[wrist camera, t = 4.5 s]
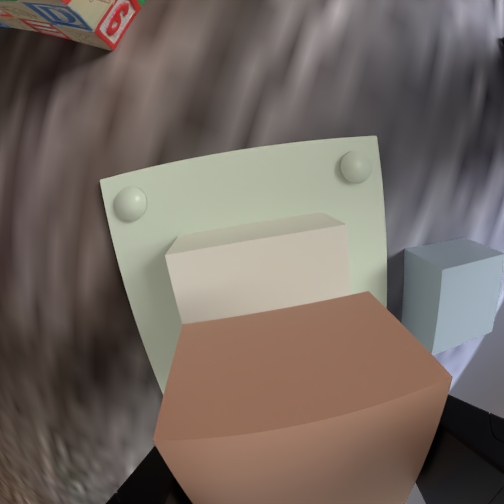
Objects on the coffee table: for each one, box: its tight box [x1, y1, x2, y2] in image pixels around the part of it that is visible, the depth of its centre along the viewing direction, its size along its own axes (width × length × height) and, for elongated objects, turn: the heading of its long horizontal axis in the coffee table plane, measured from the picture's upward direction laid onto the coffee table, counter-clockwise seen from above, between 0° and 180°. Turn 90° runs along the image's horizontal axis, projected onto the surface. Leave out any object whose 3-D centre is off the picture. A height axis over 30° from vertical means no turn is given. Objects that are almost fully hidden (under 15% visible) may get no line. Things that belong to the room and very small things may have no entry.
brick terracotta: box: [153, 291, 452, 504], centre depth 7 cm, size 5×5×4 cm
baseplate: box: [100, 136, 387, 396], centre depth 16 cm, size 14×14×1 cm
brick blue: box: [401, 238, 504, 355], centre depth 16 cm, size 5×5×4 cm
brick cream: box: [165, 212, 351, 324], centre depth 14 cm, size 7×7×4 cm
